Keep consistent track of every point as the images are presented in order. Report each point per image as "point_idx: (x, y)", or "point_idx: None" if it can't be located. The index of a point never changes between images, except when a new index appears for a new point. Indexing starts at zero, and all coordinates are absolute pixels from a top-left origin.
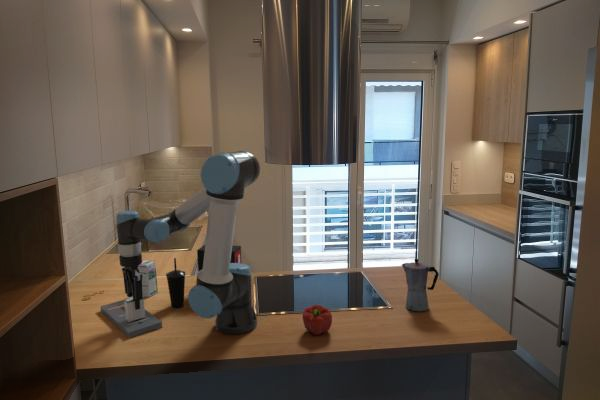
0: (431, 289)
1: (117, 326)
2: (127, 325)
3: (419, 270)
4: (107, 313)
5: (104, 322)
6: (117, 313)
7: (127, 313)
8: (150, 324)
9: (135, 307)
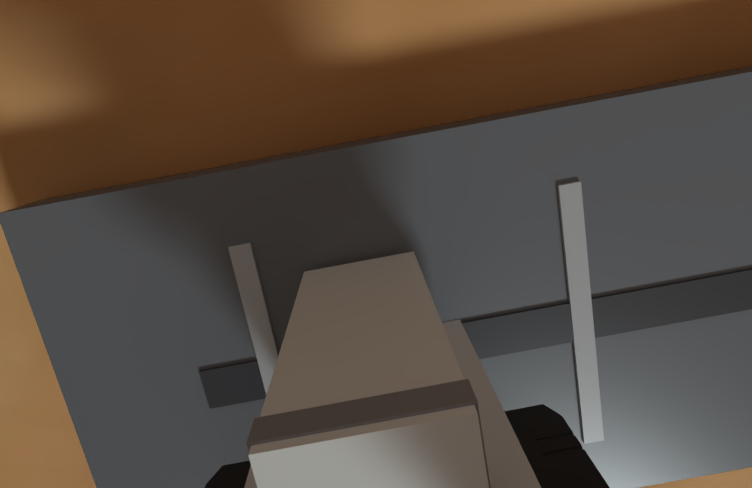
0: None
1: (407, 131)
2: (228, 238)
3: None
4: None
5: (646, 4)
6: (697, 183)
7: (324, 306)
8: (123, 473)
9: (242, 482)
